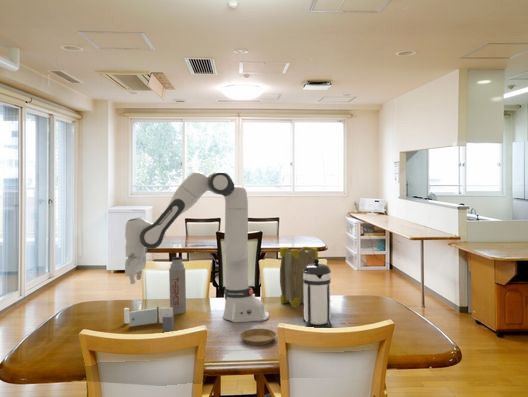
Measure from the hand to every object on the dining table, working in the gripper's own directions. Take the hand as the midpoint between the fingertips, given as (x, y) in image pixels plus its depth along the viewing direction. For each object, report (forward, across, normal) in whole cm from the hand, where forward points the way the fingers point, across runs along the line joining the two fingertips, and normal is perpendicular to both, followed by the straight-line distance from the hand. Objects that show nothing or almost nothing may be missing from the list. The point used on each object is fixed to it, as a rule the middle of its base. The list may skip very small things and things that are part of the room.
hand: (135, 281), depth 200 cm
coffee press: (+19, -4, -84) cm, 86 cm away
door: (+19, -4, -4) cm, 20 cm away
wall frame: (+19, -1, -6) cm, 20 cm away
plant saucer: (+20, -25, -58) cm, 66 cm away
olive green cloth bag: (+19, +31, -79) cm, 87 cm away
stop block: (+19, -13, -18) cm, 29 cm away
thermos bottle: (+20, +16, -16) cm, 30 cm away
